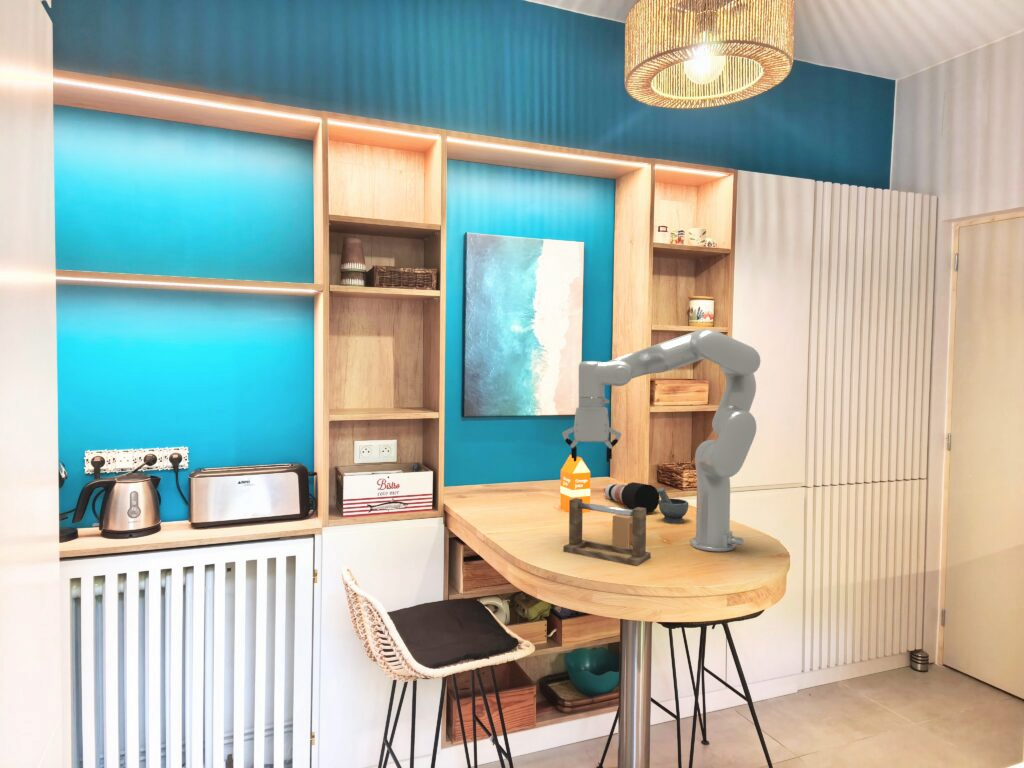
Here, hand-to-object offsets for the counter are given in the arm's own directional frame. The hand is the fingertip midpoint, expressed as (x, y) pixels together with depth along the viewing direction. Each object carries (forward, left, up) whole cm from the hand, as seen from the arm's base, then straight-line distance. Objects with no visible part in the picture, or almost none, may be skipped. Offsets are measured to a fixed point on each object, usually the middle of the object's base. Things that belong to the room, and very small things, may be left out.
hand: (591, 461), depth 192 cm
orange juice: (+27, -38, -26) cm, 54 cm away
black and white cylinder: (+16, -57, -26) cm, 65 cm away
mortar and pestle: (-8, -43, -26) cm, 51 cm away
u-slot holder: (-7, -8, -26) cm, 28 cm away
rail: (-7, +4, -13) cm, 16 cm away
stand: (-7, +4, -26) cm, 27 cm away
